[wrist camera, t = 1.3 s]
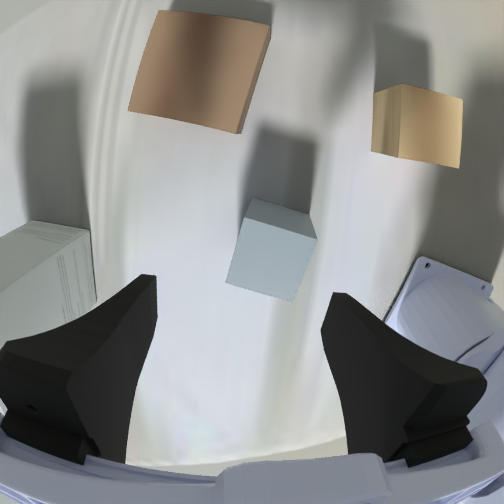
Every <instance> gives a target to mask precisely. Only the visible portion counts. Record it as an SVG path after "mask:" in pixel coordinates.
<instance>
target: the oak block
mask: <svg viewBox="0 0 504 504" xmlns="http://www.w3.org/2000/svg"><path fill="white" fill-rule="evenodd" d="M462 112H463V100H462V99H459V98H455V97H452V96H449V95H445V94H442V93H438V92H435V91H431V90H427V89H423V88H419V87H415V86H410V85H406V84H398V85H395V86H392V87H390V88H387V89H384V90H381V91H379V92H376V93H374V94H373V125H372V145H371V151H372V152H377V153H381V154H385V155H389V156H393V157H397V158H403V159H409V160H416V161H422V162H428V163H433V164H439V165H444V166H449V167H454V168H459V164H460V153H461V139H462Z"/></svg>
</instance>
